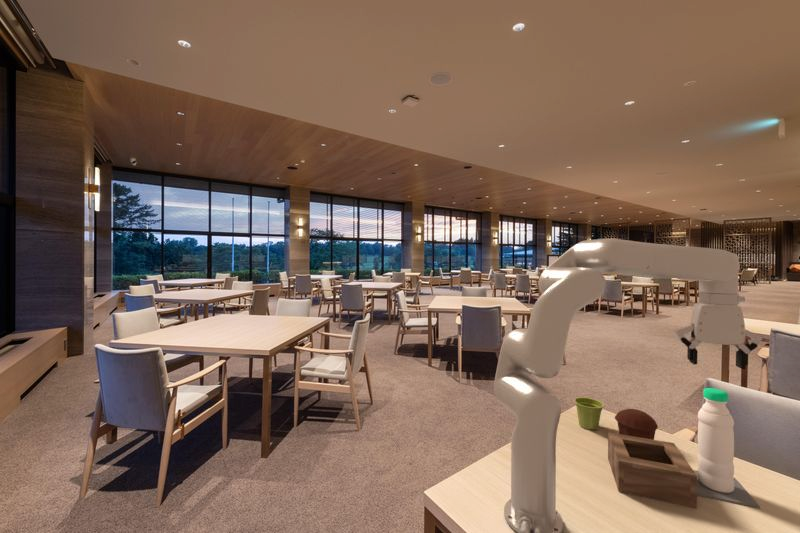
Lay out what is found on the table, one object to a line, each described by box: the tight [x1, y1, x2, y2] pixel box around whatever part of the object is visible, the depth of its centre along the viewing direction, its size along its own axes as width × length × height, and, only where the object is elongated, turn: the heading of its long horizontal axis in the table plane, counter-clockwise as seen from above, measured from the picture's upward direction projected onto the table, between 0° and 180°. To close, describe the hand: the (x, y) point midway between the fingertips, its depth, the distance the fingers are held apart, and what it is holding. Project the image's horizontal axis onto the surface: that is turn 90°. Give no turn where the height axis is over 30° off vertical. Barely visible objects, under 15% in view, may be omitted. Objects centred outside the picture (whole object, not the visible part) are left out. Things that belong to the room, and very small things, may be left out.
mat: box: [693, 469, 761, 509], centre depth 90 cm, size 12×12×1 cm
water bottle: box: [697, 387, 735, 493], centre depth 90 cm, size 7×7×25 cm
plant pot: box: [573, 396, 605, 431], centre depth 123 cm, size 9×9×9 cm
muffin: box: [614, 408, 659, 440], centre depth 113 cm, size 12×11×10 cm
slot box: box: [607, 431, 698, 510], centre depth 92 cm, size 16×16×8 cm
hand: (716, 365), depth 90 cm, fingers open, 9 cm apart
